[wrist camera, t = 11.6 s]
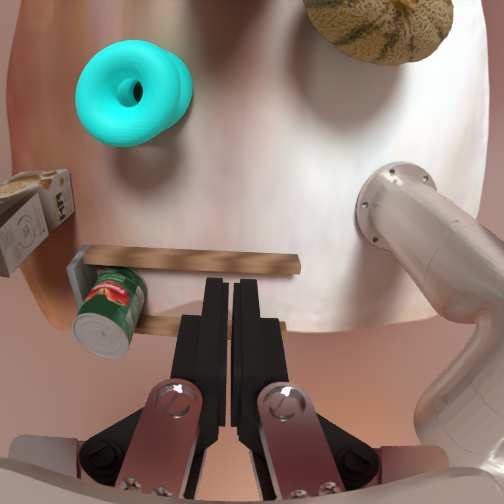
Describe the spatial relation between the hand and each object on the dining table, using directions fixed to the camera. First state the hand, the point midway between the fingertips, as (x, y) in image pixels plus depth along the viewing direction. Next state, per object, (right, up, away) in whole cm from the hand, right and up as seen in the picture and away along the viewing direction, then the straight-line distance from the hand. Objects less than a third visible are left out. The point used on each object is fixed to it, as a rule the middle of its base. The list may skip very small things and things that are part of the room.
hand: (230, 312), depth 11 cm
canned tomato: (-18, -3, +32) cm, 37 cm away
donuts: (-11, +20, +19) cm, 30 cm away
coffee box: (-27, +11, +24) cm, 38 cm away
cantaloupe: (+12, +30, +15) cm, 35 cm away
